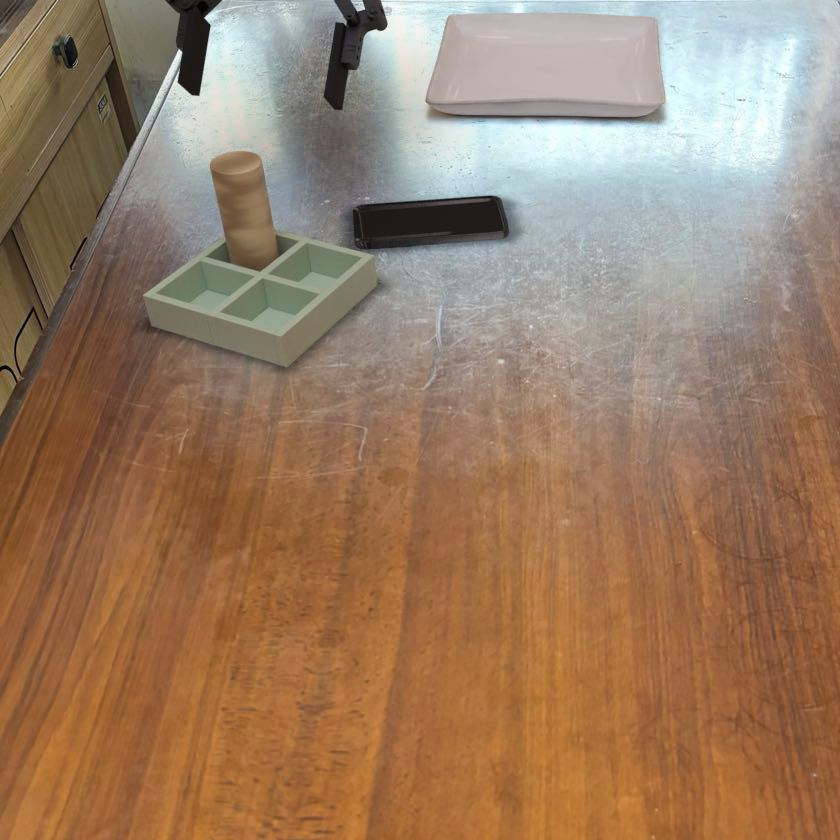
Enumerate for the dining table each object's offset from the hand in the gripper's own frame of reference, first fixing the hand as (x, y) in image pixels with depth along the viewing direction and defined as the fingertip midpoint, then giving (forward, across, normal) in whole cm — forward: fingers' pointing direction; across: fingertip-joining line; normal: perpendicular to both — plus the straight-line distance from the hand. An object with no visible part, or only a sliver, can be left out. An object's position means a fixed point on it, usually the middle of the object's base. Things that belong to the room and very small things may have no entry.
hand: (259, 97), depth 97 cm
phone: (+6, -13, -15) cm, 21 cm away
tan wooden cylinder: (+14, 0, -5) cm, 15 cm away
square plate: (-21, -16, -42) cm, 50 cm away
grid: (+18, -3, -3) cm, 18 cm away
